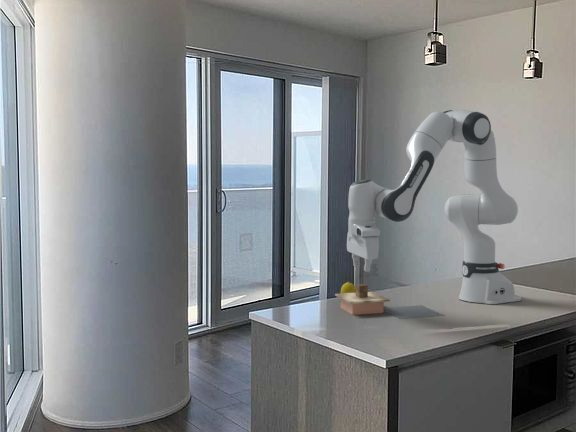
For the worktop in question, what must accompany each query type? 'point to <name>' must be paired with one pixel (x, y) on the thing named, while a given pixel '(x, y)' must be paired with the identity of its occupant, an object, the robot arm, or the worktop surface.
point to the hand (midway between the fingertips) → (361, 269)
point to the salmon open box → (362, 307)
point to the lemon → (348, 288)
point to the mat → (412, 312)
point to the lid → (361, 296)
